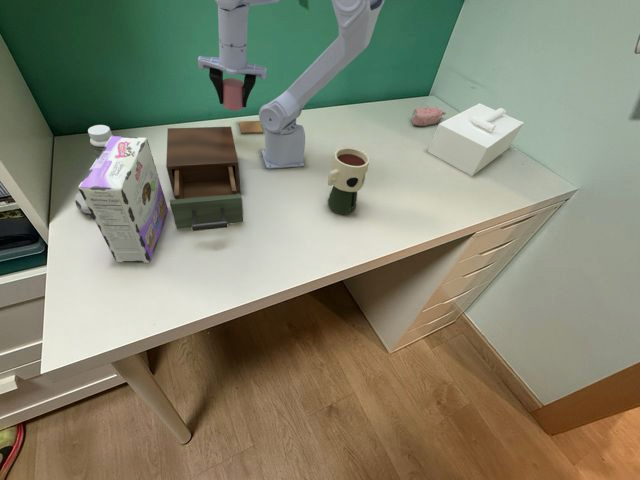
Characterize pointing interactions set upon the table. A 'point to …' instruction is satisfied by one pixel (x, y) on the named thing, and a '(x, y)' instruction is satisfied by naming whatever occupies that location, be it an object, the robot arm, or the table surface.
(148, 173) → the candy box
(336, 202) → the character mug
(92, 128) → the pill bottle
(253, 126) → the cork mat
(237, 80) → the pink short cylinder
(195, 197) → the drawer
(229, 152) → the cabinet
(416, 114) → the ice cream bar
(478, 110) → the white slanted box
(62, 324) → the table surface
